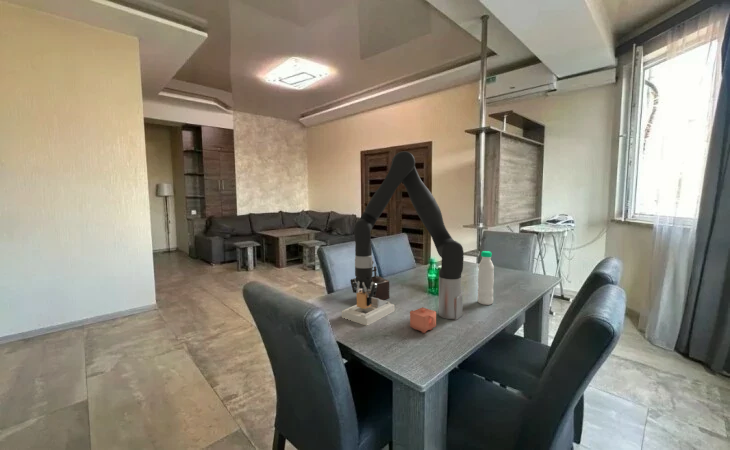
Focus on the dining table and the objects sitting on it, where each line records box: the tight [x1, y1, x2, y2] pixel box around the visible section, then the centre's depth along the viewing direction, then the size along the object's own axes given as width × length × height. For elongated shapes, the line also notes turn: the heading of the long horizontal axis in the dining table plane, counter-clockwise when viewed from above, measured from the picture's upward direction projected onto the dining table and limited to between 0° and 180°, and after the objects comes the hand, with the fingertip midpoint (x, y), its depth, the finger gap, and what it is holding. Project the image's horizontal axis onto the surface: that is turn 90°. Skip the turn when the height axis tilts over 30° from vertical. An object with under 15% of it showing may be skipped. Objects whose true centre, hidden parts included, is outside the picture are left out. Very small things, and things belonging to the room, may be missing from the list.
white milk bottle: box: [477, 250, 495, 306], centre depth 155 cm, size 7×7×25 cm
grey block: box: [371, 297, 387, 308], centre depth 147 cm, size 7×7×4 cm
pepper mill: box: [367, 260, 390, 301], centre depth 166 cm, size 16×11×18 cm
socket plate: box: [341, 299, 396, 327], centre depth 143 cm, size 14×20×4 cm
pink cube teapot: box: [409, 306, 437, 334], centre depth 128 cm, size 8×12×8 cm, turn 42°
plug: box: [356, 289, 371, 309], centre depth 140 cm, size 4×4×8 cm
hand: (364, 303), depth 141 cm, fingers closed on plug, 4 cm apart
